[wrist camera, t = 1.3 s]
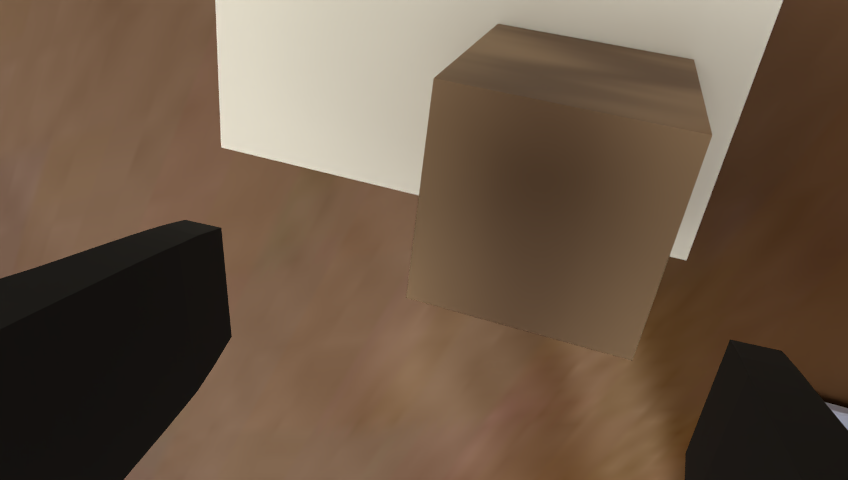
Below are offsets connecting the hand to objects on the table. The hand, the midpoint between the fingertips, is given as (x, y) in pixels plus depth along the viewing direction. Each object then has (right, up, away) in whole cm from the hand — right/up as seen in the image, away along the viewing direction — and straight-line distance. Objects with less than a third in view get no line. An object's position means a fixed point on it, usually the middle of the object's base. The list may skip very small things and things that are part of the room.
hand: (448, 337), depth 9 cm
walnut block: (+4, +4, +9) cm, 10 cm away
